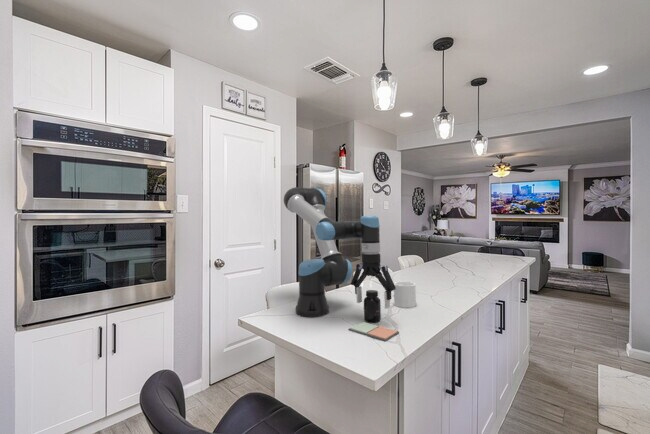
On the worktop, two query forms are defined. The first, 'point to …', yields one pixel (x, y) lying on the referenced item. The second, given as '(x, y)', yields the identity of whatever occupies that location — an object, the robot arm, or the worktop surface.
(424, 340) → the worktop surface
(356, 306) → the worktop surface
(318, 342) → the worktop surface
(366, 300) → the supplement bottle
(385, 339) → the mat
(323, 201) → the robot arm
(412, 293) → the mug
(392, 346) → the worktop surface
